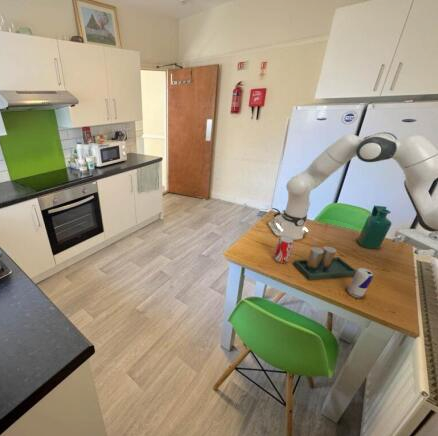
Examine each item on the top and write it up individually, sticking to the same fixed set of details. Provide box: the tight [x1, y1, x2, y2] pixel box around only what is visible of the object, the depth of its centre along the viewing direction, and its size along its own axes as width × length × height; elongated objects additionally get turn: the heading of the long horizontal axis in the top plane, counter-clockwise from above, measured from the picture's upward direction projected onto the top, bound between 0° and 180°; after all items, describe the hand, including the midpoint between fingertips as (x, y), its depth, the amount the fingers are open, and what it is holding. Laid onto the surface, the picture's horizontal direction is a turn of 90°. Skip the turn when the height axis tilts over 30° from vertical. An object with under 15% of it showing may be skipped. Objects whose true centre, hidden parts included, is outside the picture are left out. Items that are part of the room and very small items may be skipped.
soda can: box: [273, 236, 295, 264], centre depth 122 cm, size 7×7×13 cm
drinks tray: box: [293, 256, 357, 281], centre depth 117 cm, size 12×24×2 cm, turn 94°
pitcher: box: [357, 205, 392, 250], centre depth 130 cm, size 10×8×22 cm
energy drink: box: [346, 267, 375, 299], centre depth 101 cm, size 5×5×12 cm
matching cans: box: [305, 245, 337, 273], centre depth 114 cm, size 5×11×12 cm, turn 94°
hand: (404, 245), depth 94 cm, fingers open, 8 cm apart
